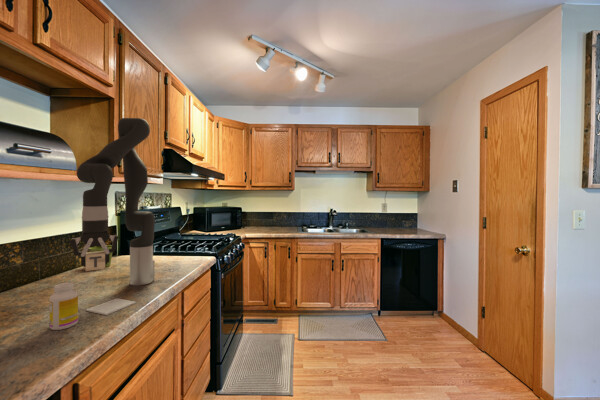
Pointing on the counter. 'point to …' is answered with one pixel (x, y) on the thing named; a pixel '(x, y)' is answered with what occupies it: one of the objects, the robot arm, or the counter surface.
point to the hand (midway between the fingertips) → (95, 265)
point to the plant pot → (95, 249)
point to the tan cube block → (95, 260)
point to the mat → (111, 306)
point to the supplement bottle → (63, 306)
